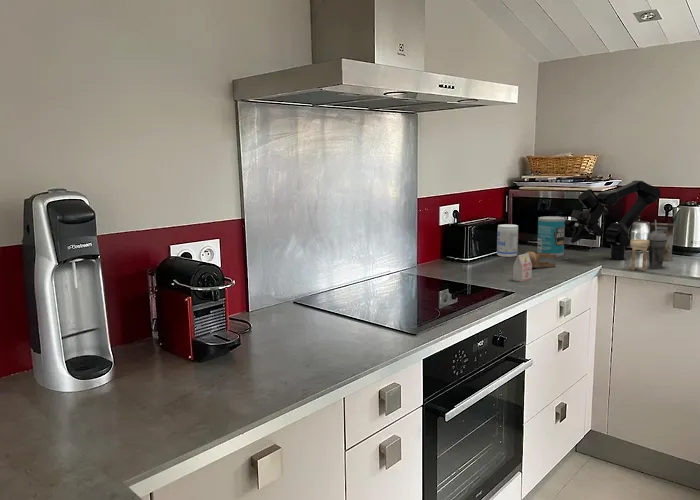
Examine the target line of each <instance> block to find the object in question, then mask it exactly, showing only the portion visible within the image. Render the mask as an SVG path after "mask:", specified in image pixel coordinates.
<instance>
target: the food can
mask: <svg viewBox="0 0 700 500" xmlns="http://www.w3.org/2000/svg"><path fill="white" fill-rule="evenodd" d="M565 221H566V218H565V217H563V216H557V215H556V216H553V215H552V216H551V215H549V216H546V215H545V216H539V217H538V219H537V247H536V249H537V252H536V253H550V254H555V255H556V258H560V257H563V256H564V255H565V232H566V231H565V230H566V226H565V224H564V223H565Z"/></svg>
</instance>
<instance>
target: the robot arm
mask: <svg viewBox="0 0 700 500" xmlns="http://www.w3.org/2000/svg"><path fill="white" fill-rule="evenodd" d="M633 193H636V194H637V195H636V201H635V202H634V203H633V204H632V206H631V207H630V208H629V209H628V210H627V212H625V214H624V215H623V217H622V218H621V219H620V220H619V222H618V223H614V222H612V223H610V225H609V226H608V227H607V228H606V229H605V230H606V231H605V233H604V229H602V227H601V226H600V225H599V223H600V221H599V220H600V218H601V217H602V216H603V215H606V216H607V215H609V208H607V207H605V206H608V207H612V206H614V205H615V204H617V203H618V202H619V200H620V199H622V198H624V197H627V196H629V195H631V194H633ZM660 198H661V189H660V188H659V187H658V186H653V185H652V184H649V183H647V182H645V181H643V180H632V181H631V182H629V183H627V184H625V185H623V186H619V187H618V188H616V189H615V188H614V189H613V190H606V191H600V192H599V193H598V194H596V193H595V192H594V190H593V189H592V188H588V189H587V190H585V191H583V192H582V193H580V194H579V196H578V197H577V199H578V200H579V202H580V203H581V204H582V205H583V206H584V207H585V209H584V210H576V209H573V210H572V211H571V215H570V218H572V219H565V223H564V224H565V228H567V229H568V230H569V232H570V233H572V236H571V239H570V243H572V244H574V243H576V242H578V241H580V240H583V239H585V238H588V237H591V234H592V232H595V236H596V237H602V235H603V234H604V237H605V240H606V244H607V245H610V255H609V260H621V261H622V260H623V261H625V260H626V259H627V258H626V255H625V254H626V253H625V252H626V248H627V247H629V246H631V245H630V240H631V239H629V237H628V235H629V229H630V227H632V225H633V223H634V222H635V221H636V220H637V219H638V218H639V217H640V216H641V214H642V212H644V210H645V209H647V207H648V206H650V205H652V204H653V203H655V202H656V201H658V200H659V199H660ZM586 209H588V210H586ZM574 219H575V220H576V221H575V220H574Z"/></svg>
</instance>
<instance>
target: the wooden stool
mask: <svg viewBox="0 0 700 500" xmlns="http://www.w3.org/2000/svg"><path fill="white" fill-rule="evenodd" d="M526 253H529V257H530V260H531V263H532V269H534V268H551V267H552V268H554V267H556V263H550V262H548V261H540V258H541V259H542V258H543V259H545V258H547V259H549V258H551V259H552V258H554V259H555V258H557V257H556V255H555V254H550V253H537V252H534V251H526V252H525V253H524V254H526Z"/></svg>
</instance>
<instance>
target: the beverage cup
mask: <svg viewBox="0 0 700 500" xmlns="http://www.w3.org/2000/svg"><path fill="white" fill-rule="evenodd" d="M654 223H655V231H653V232H651V233H650V232H649V234H648V237H647V239H646V240H649V241H650V245H649V246H648V253H649V260H648V264H649V268H650V269H656V270H658V269H662V267H663V263H664V261H663V257H664V251H665V246H666V243H667V237H666V235H665V233H664V232H662V231H659V230H657V225H656V223H657V219H654Z"/></svg>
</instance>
